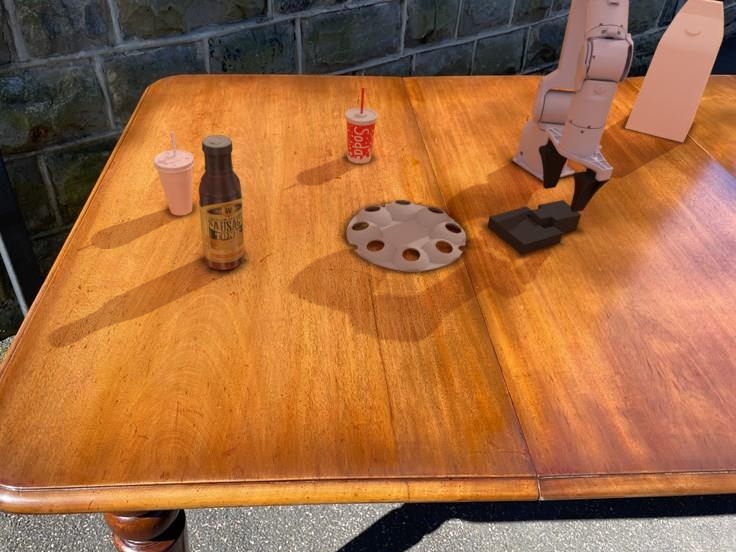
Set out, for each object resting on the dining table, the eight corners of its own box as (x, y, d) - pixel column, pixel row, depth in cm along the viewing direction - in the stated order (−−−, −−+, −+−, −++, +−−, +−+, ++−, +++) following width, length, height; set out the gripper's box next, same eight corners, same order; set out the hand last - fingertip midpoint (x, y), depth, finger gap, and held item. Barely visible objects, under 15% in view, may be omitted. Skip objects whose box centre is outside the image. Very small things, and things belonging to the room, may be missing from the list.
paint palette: (400, 192, 115) (401, 182, 114) (489, 237, 105) (491, 227, 103) (321, 233, 104) (322, 223, 103) (412, 288, 94) (414, 277, 93)
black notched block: (523, 221, 109) (527, 206, 107) (558, 214, 111) (563, 199, 109) (540, 237, 105) (544, 222, 103) (576, 229, 107) (581, 214, 105)
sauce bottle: (212, 277, 95) (197, 155, 82) (199, 254, 99) (182, 136, 86) (253, 265, 97) (244, 146, 84) (238, 244, 101) (228, 127, 88)
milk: (692, 123, 142) (743, -1, 125) (682, 142, 134) (736, 12, 117) (636, 110, 146) (678, -12, 130) (624, 128, 139) (668, 1, 122)
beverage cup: (338, 161, 123) (341, 91, 114) (350, 148, 128) (353, 79, 119) (368, 167, 122) (373, 97, 113) (378, 154, 126) (384, 85, 117)
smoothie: (207, 205, 110) (198, 129, 101) (185, 223, 105) (174, 146, 96) (176, 196, 112) (165, 121, 103) (154, 214, 107) (140, 137, 98)
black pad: (487, 226, 107) (489, 216, 106) (524, 215, 110) (526, 205, 109) (521, 255, 101) (524, 244, 100) (559, 242, 104) (563, 232, 103)
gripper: (640, 137, 92) (611, 217, 101) (578, 99, 102) (557, 174, 111) (600, 144, 90) (574, 224, 99) (541, 104, 100) (522, 180, 109)
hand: (562, 198), depth 105 cm, fingers open, 7 cm apart
